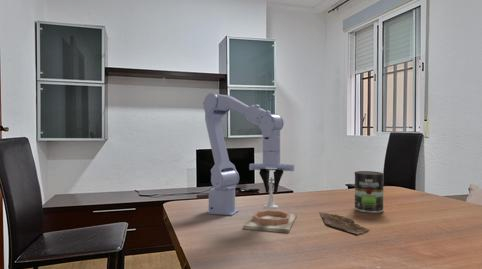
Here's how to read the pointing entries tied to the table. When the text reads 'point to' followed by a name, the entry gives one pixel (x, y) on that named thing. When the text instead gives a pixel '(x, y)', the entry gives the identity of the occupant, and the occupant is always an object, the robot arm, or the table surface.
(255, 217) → the ring collar
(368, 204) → the coffee can
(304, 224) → the table surface
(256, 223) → the birch board
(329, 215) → the wooden fragment
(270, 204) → the chess piece
